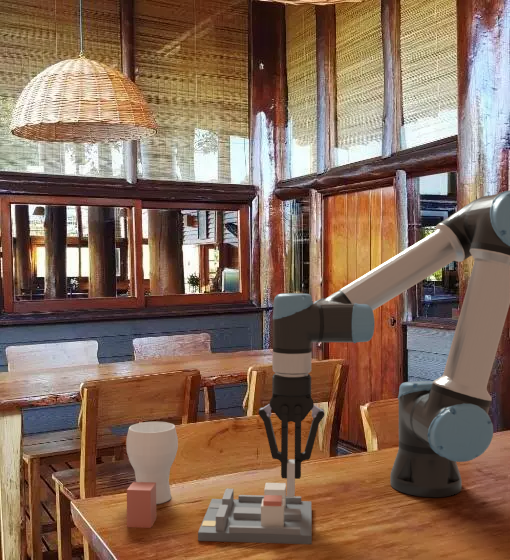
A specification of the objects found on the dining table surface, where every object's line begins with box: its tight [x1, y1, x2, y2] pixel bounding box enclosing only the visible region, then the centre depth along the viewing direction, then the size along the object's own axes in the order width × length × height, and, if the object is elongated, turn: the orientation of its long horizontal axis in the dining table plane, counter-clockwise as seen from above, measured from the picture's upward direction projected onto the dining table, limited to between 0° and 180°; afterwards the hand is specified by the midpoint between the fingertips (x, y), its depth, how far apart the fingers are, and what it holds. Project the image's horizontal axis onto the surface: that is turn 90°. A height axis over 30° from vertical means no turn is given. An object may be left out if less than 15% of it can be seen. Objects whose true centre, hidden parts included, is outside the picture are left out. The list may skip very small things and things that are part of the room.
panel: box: [197, 488, 313, 545], centre depth 127 cm, size 20×17×4 cm
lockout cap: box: [126, 481, 157, 529], centre depth 128 cm, size 4×4×7 cm
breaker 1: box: [263, 482, 287, 508], centre depth 132 cm, size 4×4×4 cm
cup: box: [125, 421, 179, 505], centre depth 141 cm, size 11×11×15 cm
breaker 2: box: [261, 494, 284, 527], centre depth 123 cm, size 4×4×5 cm
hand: (290, 494), depth 131 cm, fingers closed
